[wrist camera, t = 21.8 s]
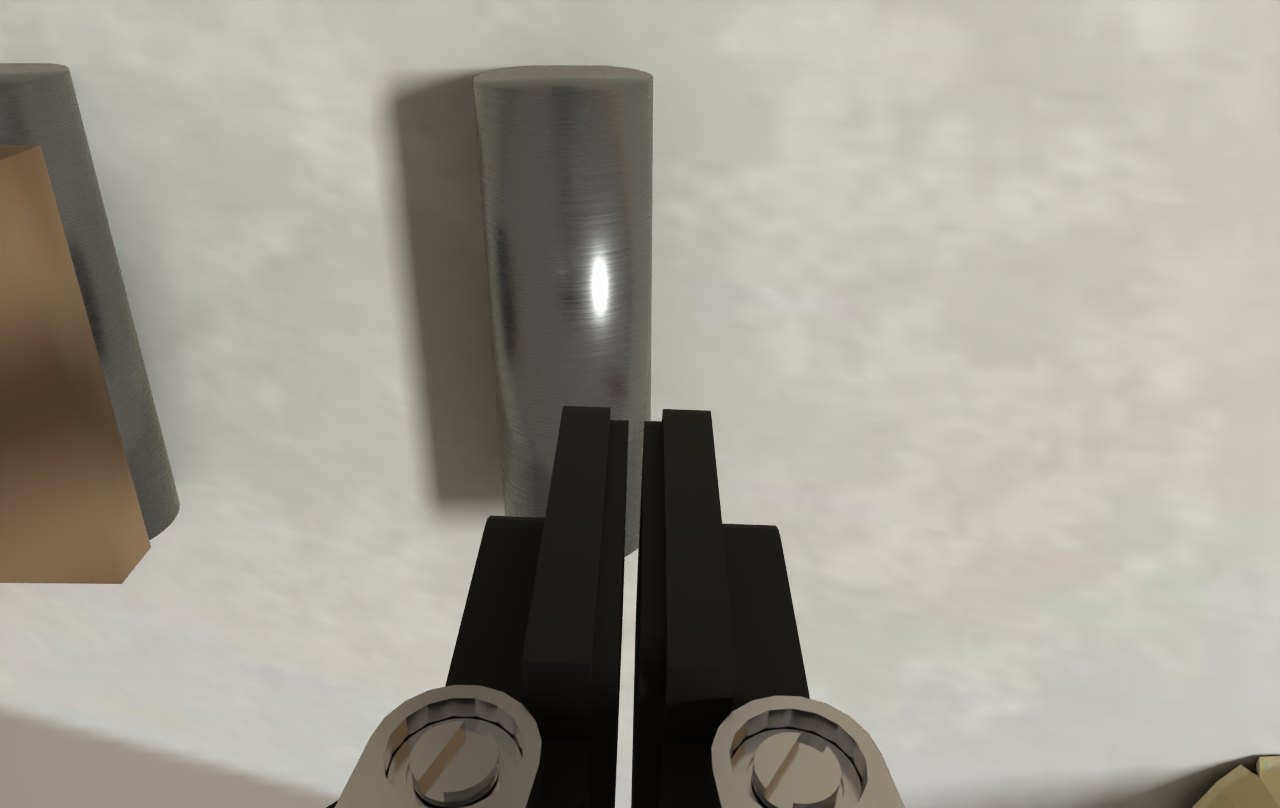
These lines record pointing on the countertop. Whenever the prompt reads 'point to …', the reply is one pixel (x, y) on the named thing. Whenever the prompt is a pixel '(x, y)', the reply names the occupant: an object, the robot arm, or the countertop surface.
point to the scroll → (1246, 787)
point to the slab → (54, 405)
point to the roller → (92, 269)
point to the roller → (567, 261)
